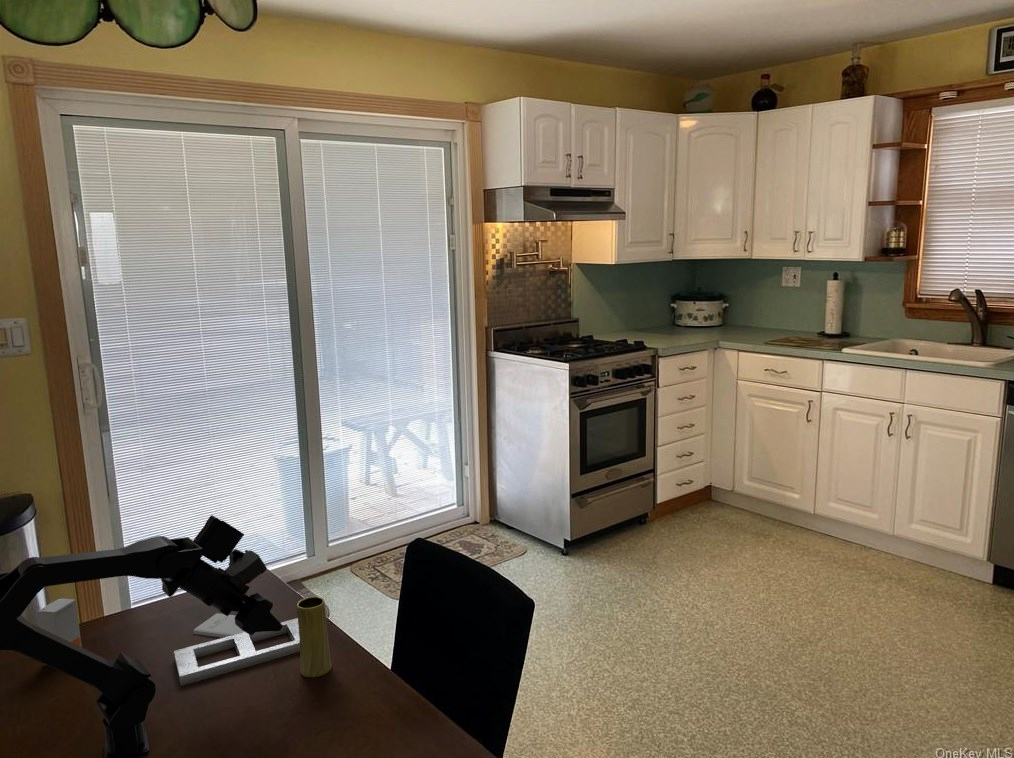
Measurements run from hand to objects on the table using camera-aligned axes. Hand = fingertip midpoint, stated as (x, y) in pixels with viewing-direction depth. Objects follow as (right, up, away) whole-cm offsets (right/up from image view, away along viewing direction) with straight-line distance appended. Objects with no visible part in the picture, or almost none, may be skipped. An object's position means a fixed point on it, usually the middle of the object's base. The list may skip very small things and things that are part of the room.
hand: (270, 619), depth 139 cm
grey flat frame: (-10, -12, +14) cm, 20 cm away
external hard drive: (-17, -11, +25) cm, 32 cm away
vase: (+7, -12, +7) cm, 16 cm away
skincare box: (-48, -13, +14) cm, 51 cm away
